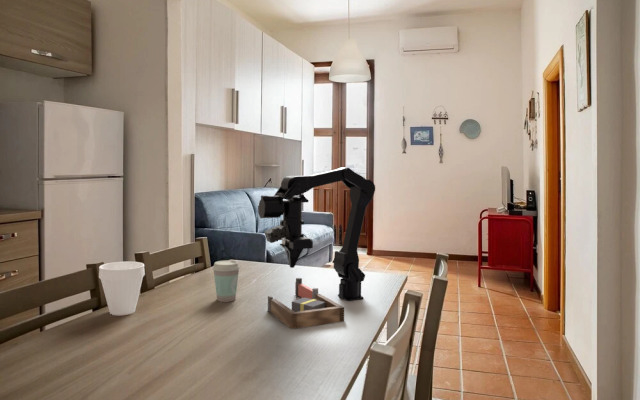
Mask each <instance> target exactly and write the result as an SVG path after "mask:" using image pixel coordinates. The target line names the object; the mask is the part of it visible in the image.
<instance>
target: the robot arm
mask: <svg viewBox="0 0 640 400" xmlns="http://www.w3.org/2000/svg"><path fill="white" fill-rule="evenodd" d="M280 182H281V183H280V187H279V188H278V189H277V191H276V192H275V193H274V195H261V196H260V200H259V202H258V205H257V213H258V216H259V218H260V219H280V218H281V216H282V219H281V220H280V221H279V225H276V226H274V227H272V228H269V229H267V230H264V231H263V233H264V235H265V238H266V241H267V242H269V243H271V244H273V243H275V242H279V241H281V243H279V246H280V247H282V248H283V249H284V251H285V253H286V258H287V262H288V265H289V268H291V269H292V268H295V266H296V264H297V262H298V259H299V258H300V256H301V254H302V252H303V251H304V249H307V250H308V249H313V247H314V241H313V240H312V239H311V238H309V237H306V236H305V234H304V233H303V231H302V225H304V224H305V220H303V215H302V214H303V203H309V201H310V200H309V199H308V198H307V197H305V195H304V193H307V192H309V191H310V190H312V189H313V188H316V187H321V186H322V187H323V186H326V185H329V184H334V183H337V182H342V183H343V185H344V186H345V187H346V188H348V189H349V198H350V199H349V200H350V204H351V206H350V210H349V215H348V221H347V225H346V230H345V234H344V239H343V244H342V247H341V249H340V250H339V251H338V250H335V251H334V255H333V260H332V261H331V262H332V263H333V269H334V271H335V272H336V273H337V275H338V278H340V279H339V280H340V283H339V284H338V294H337V296H338V297H339V298H341V299H343V300H345V301H354V300H356V301H357V300H361V299H362V300H363V299H364V296H362V282H364V281H365V277H366V274H365V273H364V272H363V271H362V269H360V267H359V266H360V257H359V253H358V248H359V241H360V237H361V234H362V227H363V224H364V218H365V213H366V209H367V207H368V205H369V204H370V203H371V201H372V200H373V197H374V196H375V195H374V194H375V192H376V184H374V182H373V181H372V180H371V179H366V178H365V177H364V176H362V175H360V174H358V173H357V172H355V171H354V170H353V169H352V168H350V167H339V168H336V169H332V170H327V171H322V172H318V173H314V174H310V175H288V176H285V177H283V178H282V180H281V181H280Z"/></svg>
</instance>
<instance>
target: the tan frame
mask: <svg viewBox="0 0 640 400" xmlns="http://www.w3.org/2000/svg"><path fill="white" fill-rule="evenodd" d="M315 300H318V301H322V302H326V308H321V309H314V310H306V311H298V312H294V311H292V308H290V307H288V306H287V305H285V304H284V303H282V302H281V301H279V300H278V299H277V298H273V296H272V295H267V311H268V312H269V313H270V314H271V315H272V316H274V317H275V318H277V319H278V320H279V321H280V322H282V323H283V324H284V325H286V326H287V327H289V329H291V330H293V329H301V328H308V327H315V326H321V325H322V326H323V325H327V324H328V325H329V324H334V323H336V324H337V323H343V322H345V306H342V305H341V304H339V303H337V302H335V301H334V300H332V299H330V298H328V297H326V296H325V295H323V294H321V293H318V294H315Z"/></svg>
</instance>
